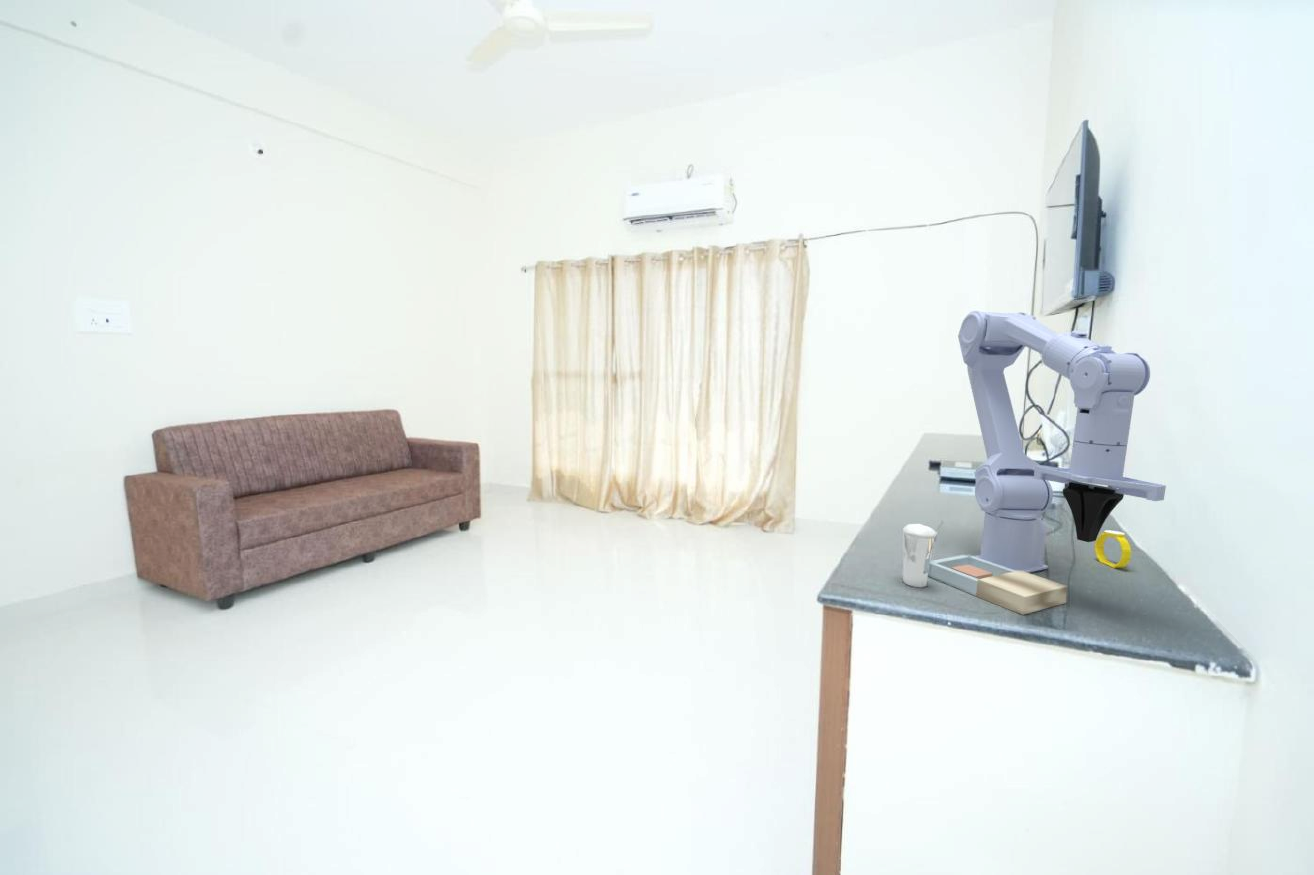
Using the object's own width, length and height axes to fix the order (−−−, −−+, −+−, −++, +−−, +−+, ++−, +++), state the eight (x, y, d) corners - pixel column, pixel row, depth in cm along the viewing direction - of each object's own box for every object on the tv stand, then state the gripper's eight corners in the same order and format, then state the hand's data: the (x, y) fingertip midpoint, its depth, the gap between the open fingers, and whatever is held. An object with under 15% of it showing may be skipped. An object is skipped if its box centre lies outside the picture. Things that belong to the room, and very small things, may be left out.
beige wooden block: (1018, 586, 83) (1020, 570, 82) (1065, 603, 77) (1067, 586, 77) (976, 596, 78) (977, 579, 78) (1022, 614, 73) (1024, 597, 72)
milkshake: (941, 591, 80) (948, 525, 78) (902, 587, 81) (908, 522, 79) (932, 579, 84) (938, 517, 83) (895, 576, 85) (901, 514, 84)
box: (966, 567, 90) (967, 554, 90) (1018, 586, 83) (1020, 572, 82) (924, 575, 86) (925, 561, 86) (976, 596, 78) (977, 581, 78)
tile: (992, 573, 83) (991, 582, 83) (968, 564, 86) (967, 573, 87) (975, 576, 81) (974, 586, 81) (951, 567, 85) (950, 576, 85)
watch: (1089, 560, 97) (1091, 527, 96) (1104, 561, 97) (1107, 528, 96) (1117, 570, 91) (1120, 535, 90) (1134, 571, 91) (1137, 536, 90)
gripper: (1026, 436, 78) (1015, 528, 80) (1151, 452, 65) (1135, 560, 67) (1054, 435, 81) (1043, 523, 83) (1179, 450, 68) (1163, 554, 70)
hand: (1086, 540), depth 75 cm, fingers closed
